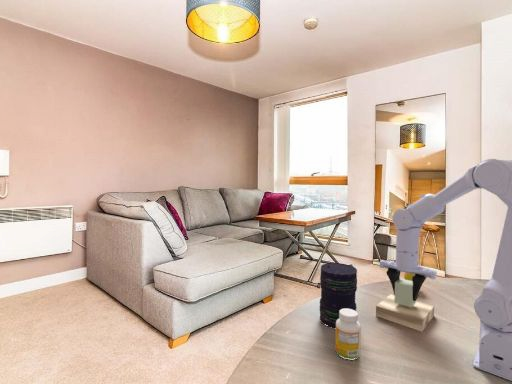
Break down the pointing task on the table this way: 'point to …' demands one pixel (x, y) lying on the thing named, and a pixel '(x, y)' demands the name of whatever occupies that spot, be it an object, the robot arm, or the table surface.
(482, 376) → the table surface
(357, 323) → the supplement bottle
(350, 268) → the storage jar
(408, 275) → the lemon
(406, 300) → the sage block
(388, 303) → the birch plinth
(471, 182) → the robot arm
